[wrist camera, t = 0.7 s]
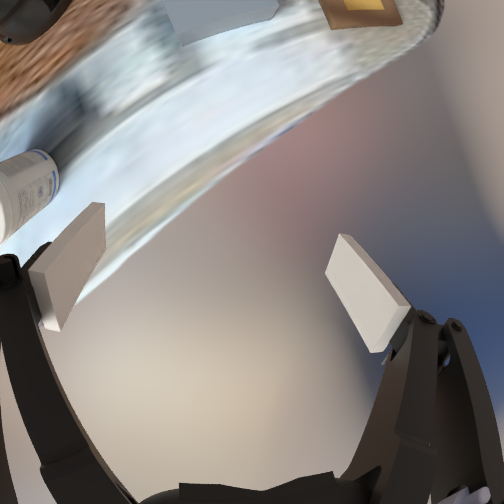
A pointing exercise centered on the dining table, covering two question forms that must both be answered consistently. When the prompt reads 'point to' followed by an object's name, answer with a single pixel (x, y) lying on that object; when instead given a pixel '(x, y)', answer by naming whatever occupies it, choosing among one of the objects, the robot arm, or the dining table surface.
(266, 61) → the dining table surface
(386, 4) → the board
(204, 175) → the dining table surface
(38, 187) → the supplement tub
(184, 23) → the block
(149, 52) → the dining table surface
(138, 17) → the dining table surface
